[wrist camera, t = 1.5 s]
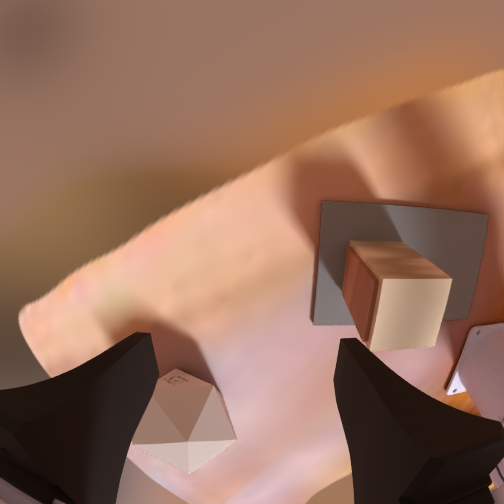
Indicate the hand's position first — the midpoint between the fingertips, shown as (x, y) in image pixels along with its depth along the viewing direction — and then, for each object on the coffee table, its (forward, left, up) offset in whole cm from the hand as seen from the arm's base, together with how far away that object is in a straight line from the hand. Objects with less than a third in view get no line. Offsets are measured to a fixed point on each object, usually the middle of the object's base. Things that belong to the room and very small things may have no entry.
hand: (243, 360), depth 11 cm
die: (+6, +12, -11) cm, 18 cm away
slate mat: (-11, 0, -11) cm, 15 cm away
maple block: (-8, 0, -10) cm, 13 cm away
